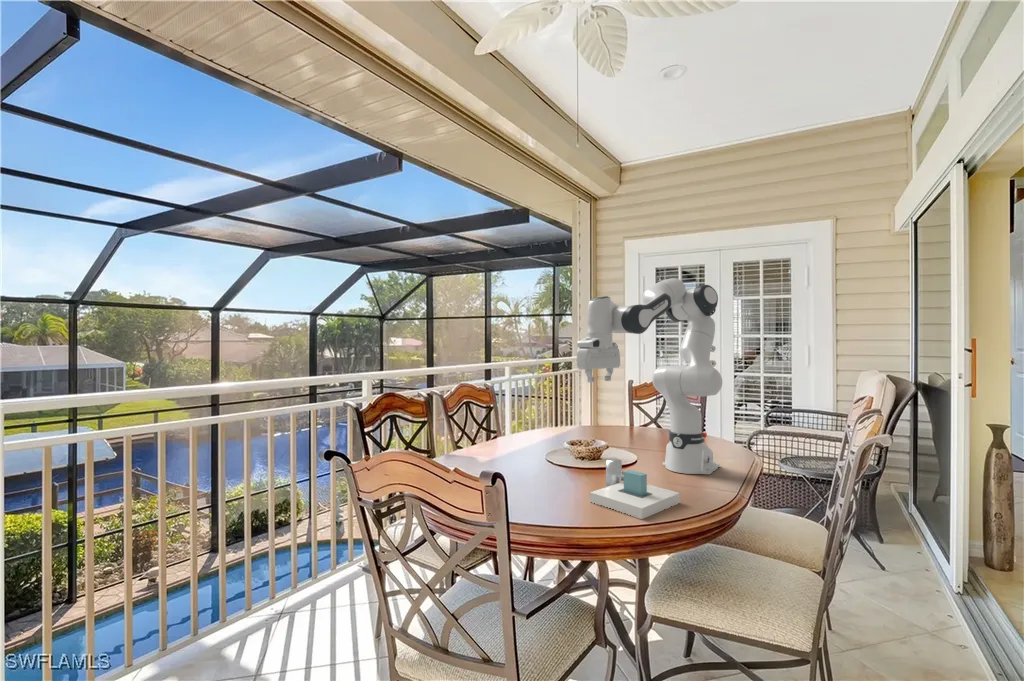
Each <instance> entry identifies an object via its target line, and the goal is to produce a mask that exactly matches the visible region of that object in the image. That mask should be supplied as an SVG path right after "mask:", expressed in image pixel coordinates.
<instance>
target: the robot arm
mask: <svg viewBox="0 0 1024 681" xmlns="http://www.w3.org/2000/svg"><path fill="white" fill-rule="evenodd" d="M718 302H719V297H718V292H717V291H716V289H715V288H714V287H712V286H711V285H710V284H702V285H701V284H700V285H697V286H695V287H693V288H690V289H688V290H687V288H686V285H685V284H684V282H683V281H682V280H681V279H679V278H676V277H675V278H674V277H673V278H668V279H667V278H666V279H664V280H661V281H658V282H656V283H654V284H651V286H649V287H648V288H646V289H645V290H644V292H643V294H642V303H643V304H633V305H625V306H623V305H622V306H619V305H618V304H616V303H615V302H614V301H613V300H612V298H611V297H610V296H609V295H607V296H606V295H605V296H596V297H593V298H591V299H590V300H589V301H588V304H587V312H586V323H587V332H586V336H585V337H584V338H582V339H580V340H578V341H577V343H576V347H577V348H578V349H577V351H576V366H577V368H578V370H584V373H585V375H586V377H587V382H588V383H594V382H595V377H594V376H593V374H592V373H593V370H599V369H600V370H601V369H605V371H606V374H605V375H604V381H605V382H610V381H612V375H613V373H614V369H616V368H617V369H618V368H619V367H620V366H621V354H620V349H619V346H618V344H617V343H616V342H613V334H633V335H634V334H636V335H641V334H643V333H645V332H646V331H647V330H648V329H649V327H651V325H652V323H653V322H654V321H655V320H657V319H658V318H659V317H661V316H662V315H664V314H665V313H666V316H667V317H668V318H669V319H670V320H671V321H672V322H675V323H680V322H685V321H686V320H687V326H686V329H685V331H684V334H683V337H682V341H681V343H680V344H681V345H680V347H679V355H680V357H681V358H682V360H684V361H685V362H686V363H687V364H688V365H664V366H659V367H657V368H655V370H654V372H653V373H652V376H651V380H652V381H651V382H652V385H653V387H654V388H655V390H656V391H657V392H658V393H659V394H661V396H662V397H663V398H664V400H665V402H666V404H667V406H668V412H669V420H670V421H669V422H670V423H669V424H670V425H669V426H670V427H669V428H670V430H668V431H669V432H668V441H669V442H668V443H667V444H666V449H665V461H662V465H663V466H665V469H667V470H668V471H671V472H675V473H680V474H687V475H711V474H712V473H714V472H715V471H716V470H717V469H719V468H720V466H721V465H720V463H718V462H715V461H714V453H713V450H712V449H711V448H710V447H709V446H708V445H707V444H706V443H705V438H707V436H708V433H707V431H705V432H704V431H702V417H703V416H702V415H703V414H702V413H701V410H700V409H699V408H698V407H697V406H695V405H694V404H692V403H691V402H690V401H689V398H688V396H694V397H710V396H715V395H717V394H718V393H719V392H720V391H721V389H722V387H723V377H722V375H721V373H720V372H719V371H718V369H716V368H715V367H714V366H713V365H712V363H711V361H710V359H711V358H710V357H711V352H712V347H713V343H714V339H715V335H716V333H715V332H716V322H715V320H714V319H713V318H712V317H711V316H713V315H714V314H715V313H716V308H717V306H718ZM718 467H719V468H718ZM713 471H714V472H713Z"/></svg>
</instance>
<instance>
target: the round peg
mask: <svg viewBox="0 0 1024 681" xmlns="http://www.w3.org/2000/svg"><path fill="white" fill-rule="evenodd" d="M622 465H623V464H622V460H621V459H618V458H607V459H606V460H605V487H608V486H611V485H614V484H617V483H620V482H623V480H622V471H623V470H622V469H623V468H622V467H623V466H622Z"/></svg>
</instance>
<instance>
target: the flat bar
mask: <svg viewBox="0 0 1024 681" xmlns="http://www.w3.org/2000/svg"><path fill="white" fill-rule="evenodd" d="M623 471H624V480H623V482H624V492H627V493H631V494H634V495H638V496H644V495H647V484H648V483H647V482H648V477H647V476H648V474H647V473H645V472H641V471H640V472H639V471H635V470H631V469H628V470H623Z"/></svg>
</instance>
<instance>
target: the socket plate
mask: <svg viewBox="0 0 1024 681" xmlns="http://www.w3.org/2000/svg"><path fill="white" fill-rule="evenodd" d="M591 502H592V503H591ZM589 503H591V504H594V503H595V504H594V505H597V504H599V505H598V506H600V505H603V506H605V507H604V508H606V507H608V508H607V509H609V508H611V509H610V510H612V509H614V510H613V511H615V510H617V511H616V512H618V511H620V512H619V513H621V512H622V513H621V514H624V513H626V514H625V515H627V514H628V516H630V515H631V516H630V517H633V518H637V519H639V520H643V519H646V518H648V517H651V516H653V515H655V514H657V513H659V512H662V511H664V509H665V510H667V509H669V508H671V506H672V507H674V506H676V505H678V503H679V504H680V503H681V493H680V492H678V491H673V490H670V489H666V488H663V487H659V486H655V485H651V484H648V483H647V495H644V496H638V495H634V494H631V493H627V492H624V481H622V482H620V483H617V484H614V485H611V486H608V487H606V486H605V487H602V488H600V489H596V490H594V491H590V492H589ZM603 506H602V507H603Z"/></svg>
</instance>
